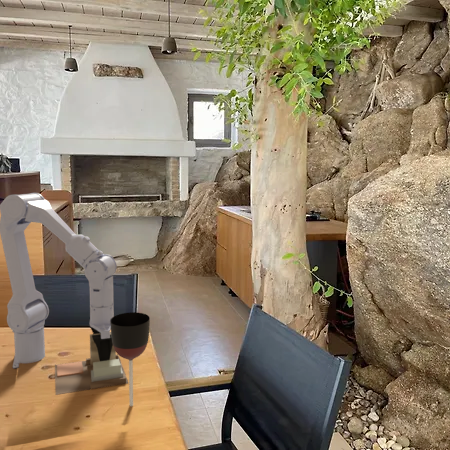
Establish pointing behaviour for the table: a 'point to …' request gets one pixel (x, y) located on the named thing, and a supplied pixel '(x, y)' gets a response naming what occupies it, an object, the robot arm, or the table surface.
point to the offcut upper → (106, 367)
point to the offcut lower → (106, 376)
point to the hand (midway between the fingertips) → (102, 355)
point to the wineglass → (130, 339)
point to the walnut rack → (81, 377)
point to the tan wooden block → (94, 352)
